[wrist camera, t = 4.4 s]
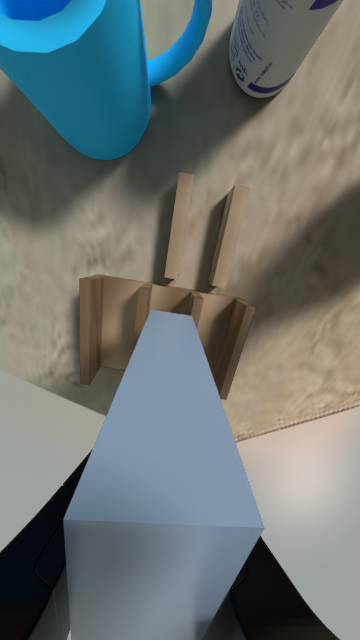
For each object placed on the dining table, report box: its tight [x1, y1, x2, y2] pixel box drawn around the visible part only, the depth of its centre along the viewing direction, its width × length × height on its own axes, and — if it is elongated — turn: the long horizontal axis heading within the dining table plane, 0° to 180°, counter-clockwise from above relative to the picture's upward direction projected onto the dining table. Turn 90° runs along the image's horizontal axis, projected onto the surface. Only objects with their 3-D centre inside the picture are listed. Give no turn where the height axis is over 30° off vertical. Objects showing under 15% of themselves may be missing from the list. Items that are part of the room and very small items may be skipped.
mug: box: [0, 0, 212, 160], centre depth 10 cm, size 12×8×8 cm
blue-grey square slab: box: [63, 310, 264, 640], centre depth 8 cm, size 2×9×9 cm, turn 170°
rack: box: [79, 274, 256, 400], centre depth 18 cm, size 15×10×4 cm
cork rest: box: [164, 172, 250, 288], centre depth 16 cm, size 6×8×2 cm
